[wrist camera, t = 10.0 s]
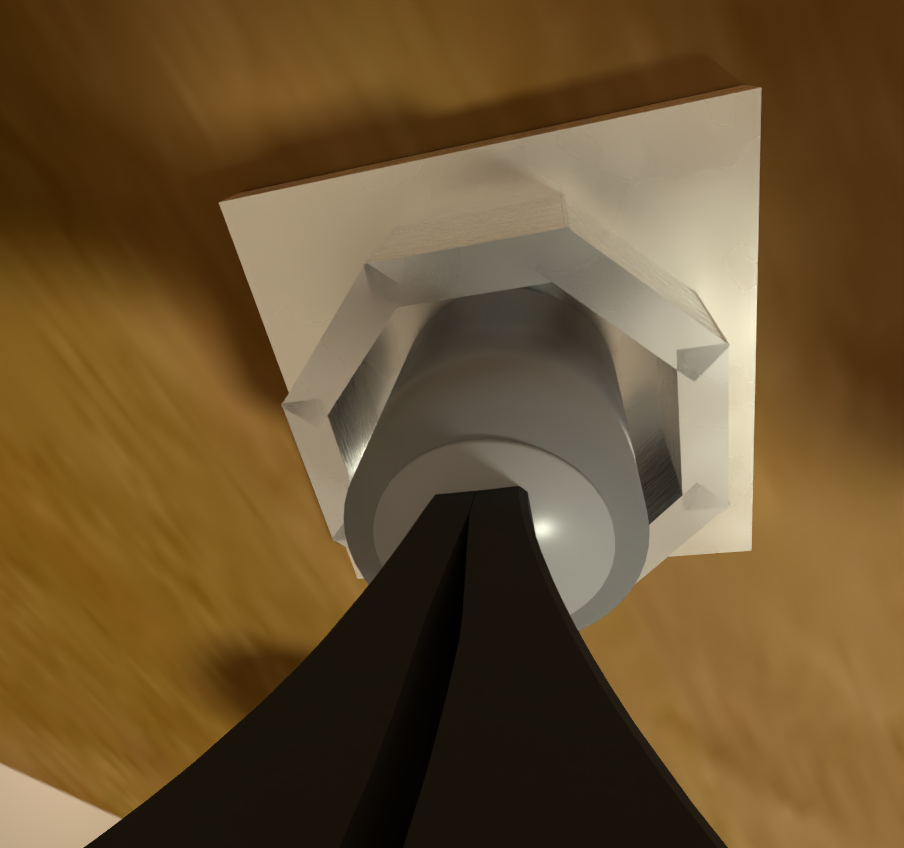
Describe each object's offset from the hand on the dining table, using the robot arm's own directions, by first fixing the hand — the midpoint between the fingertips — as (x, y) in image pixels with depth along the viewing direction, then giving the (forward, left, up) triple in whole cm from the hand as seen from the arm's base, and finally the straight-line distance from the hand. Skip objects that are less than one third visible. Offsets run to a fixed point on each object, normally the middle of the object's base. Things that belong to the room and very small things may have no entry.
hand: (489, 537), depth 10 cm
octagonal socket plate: (0, 0, -6) cm, 6 cm away
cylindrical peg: (0, 0, -5) cm, 5 cm away
